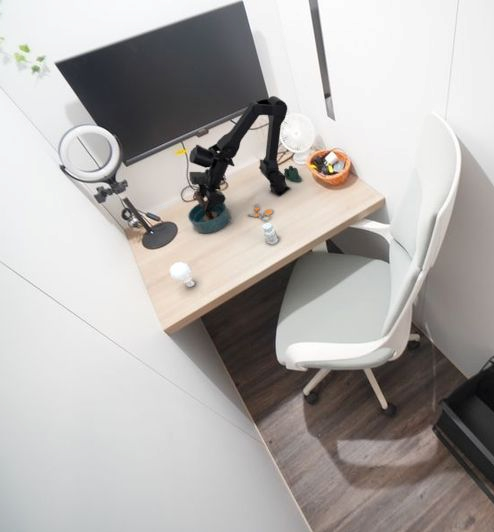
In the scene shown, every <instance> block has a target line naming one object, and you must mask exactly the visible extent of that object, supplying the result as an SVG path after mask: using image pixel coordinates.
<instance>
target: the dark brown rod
mask: <svg viewBox="0 0 494 532" xmlns="http://www.w3.org/2000/svg"><path fill="white" fill-rule="evenodd" d="M193 195H194V197H195V199H196V201H197V202H198V204H200V206H201V207H202V209H203V211H204V213H205V214H206V215H205V216H204V217H203V220H204V221H205V222H207V221H210V220H212V219H215V218H216V217H217V216H218V214H217V213H216V212H211V211H210V210H209V211H208V212H205V207H206V202H205V201H206V200H205V197H204V198H203V197H202V195H201V193H200V192H199V190H196V191H194V193H193Z"/></svg>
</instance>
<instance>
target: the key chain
mask: <svg viewBox="0 0 494 532" xmlns="http://www.w3.org/2000/svg"><path fill="white" fill-rule="evenodd" d="M254 207H255V208H254V211H255V213H248V216H250V217H254V218H260V219H261V220H263V221H264V222H268V221H269V220H270V219H271V218H272V216H271V215H272V214H273V210H272V209H267V210H265V211H264V213H262V212H259V213H257V212H258V211H259V210H260V207H259V205H258V204H257V203H255V204H254ZM264 216H268V218H267V219H265V218H263V217H264Z"/></svg>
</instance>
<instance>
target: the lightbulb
mask: <svg viewBox="0 0 494 532" xmlns="http://www.w3.org/2000/svg"><path fill="white" fill-rule="evenodd" d="M169 274H170V276H171V277H172V278H173V279H174V280H175V281H178V282H182V283H184V284H185V285H186V287H188V288H191V287H193V286H194V285H195V284H196V282H195V280H194V279H193V277H192V268H191V266H190V265H189V264H188V263H187V262H184V261H177V262H175V263H173V264H172V265H171V266H170V268H169Z"/></svg>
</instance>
